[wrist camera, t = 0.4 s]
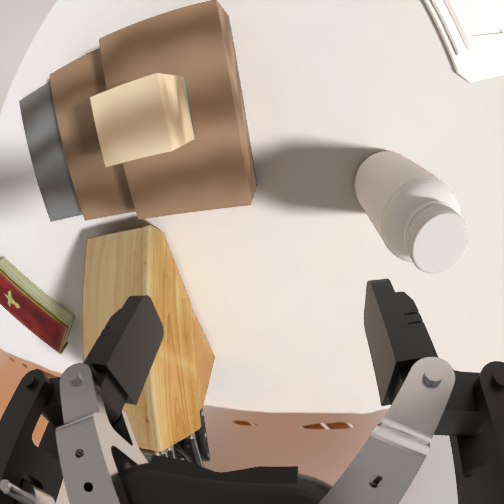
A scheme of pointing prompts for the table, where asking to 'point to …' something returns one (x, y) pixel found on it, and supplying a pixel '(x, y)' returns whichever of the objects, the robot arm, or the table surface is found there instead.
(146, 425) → the knife block
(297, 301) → the table surface
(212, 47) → the walnut staircase
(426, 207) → the pill bottle
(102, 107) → the maple cube
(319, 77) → the table surface
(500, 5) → the tray
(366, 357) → the table surface
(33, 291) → the hardcover book
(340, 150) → the table surface
